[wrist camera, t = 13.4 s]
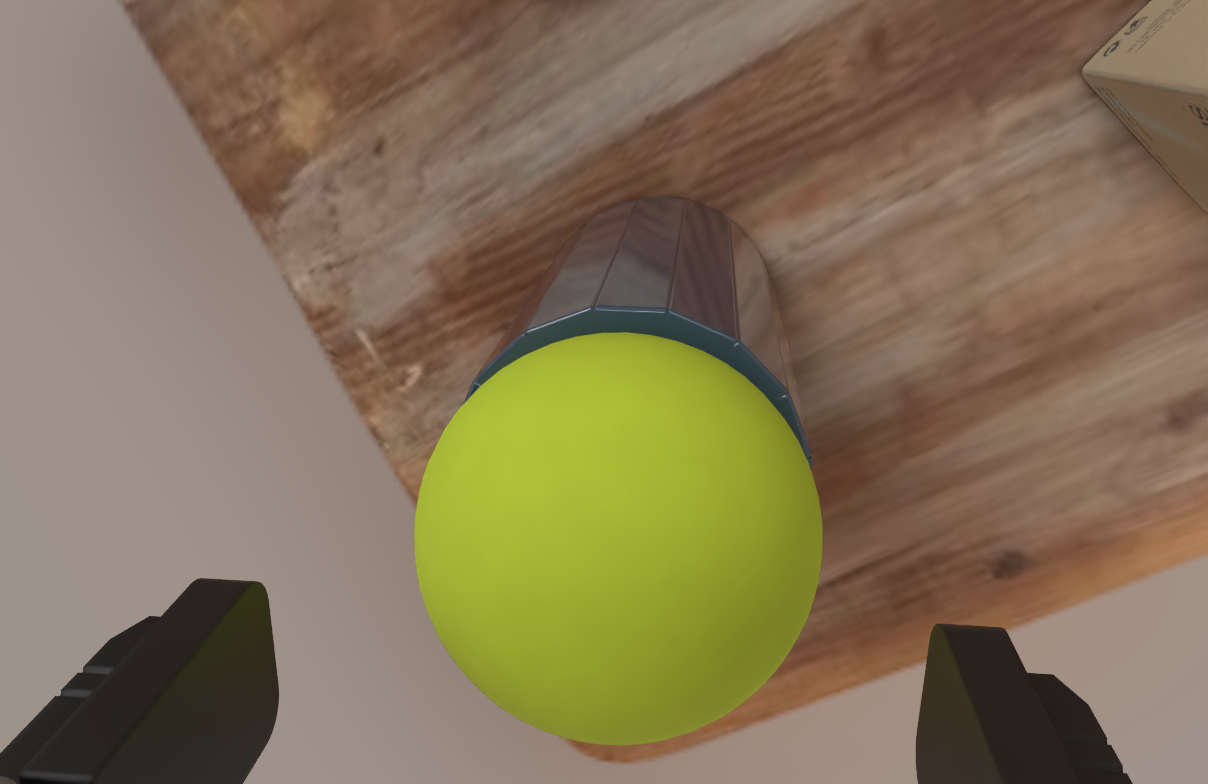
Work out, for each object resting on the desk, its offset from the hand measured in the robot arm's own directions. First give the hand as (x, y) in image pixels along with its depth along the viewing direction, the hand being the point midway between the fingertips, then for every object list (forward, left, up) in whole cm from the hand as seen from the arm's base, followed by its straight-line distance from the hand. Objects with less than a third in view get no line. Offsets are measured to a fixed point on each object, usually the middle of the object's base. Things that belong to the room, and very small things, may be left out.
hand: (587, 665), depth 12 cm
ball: (0, 0, -3) cm, 3 cm away
